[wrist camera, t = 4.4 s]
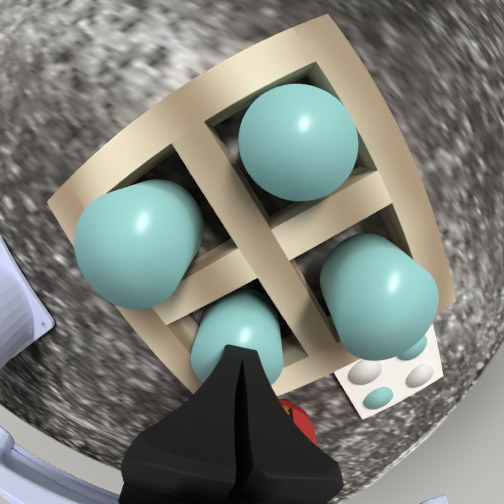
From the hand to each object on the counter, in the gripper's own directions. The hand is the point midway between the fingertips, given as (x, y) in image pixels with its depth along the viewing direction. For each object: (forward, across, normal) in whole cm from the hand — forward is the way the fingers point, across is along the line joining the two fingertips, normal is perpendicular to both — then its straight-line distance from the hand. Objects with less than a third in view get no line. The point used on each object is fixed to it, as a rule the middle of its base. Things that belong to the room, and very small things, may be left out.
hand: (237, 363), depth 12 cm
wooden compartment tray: (+4, 0, -5) cm, 6 cm away
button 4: (+3, 0, -9) cm, 10 cm away
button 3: (+2, -5, -5) cm, 7 cm away
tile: (+4, -11, +2) cm, 12 cm away
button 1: (+3, 0, 0) cm, 3 cm away
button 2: (+2, +5, -5) cm, 7 cm away
